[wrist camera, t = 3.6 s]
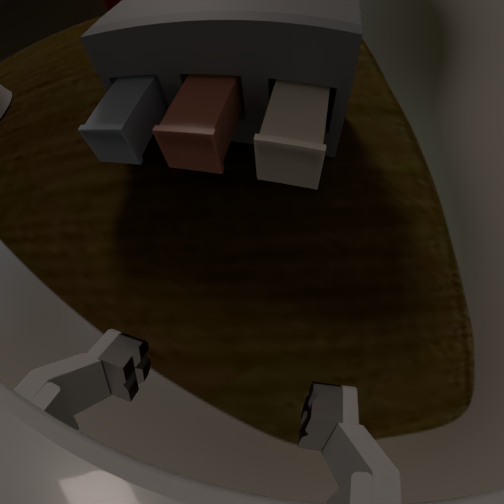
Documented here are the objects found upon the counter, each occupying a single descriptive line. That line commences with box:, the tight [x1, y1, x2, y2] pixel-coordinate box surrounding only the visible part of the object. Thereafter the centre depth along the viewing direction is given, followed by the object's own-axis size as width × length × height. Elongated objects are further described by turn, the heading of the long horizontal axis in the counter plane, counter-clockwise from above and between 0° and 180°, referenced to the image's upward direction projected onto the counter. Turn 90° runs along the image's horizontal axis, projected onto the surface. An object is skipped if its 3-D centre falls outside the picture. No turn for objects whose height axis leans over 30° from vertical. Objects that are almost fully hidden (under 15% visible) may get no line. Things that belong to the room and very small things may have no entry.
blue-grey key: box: [78, 75, 168, 165], centre depth 23 cm, size 8×4×4 cm, turn 167°
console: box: [80, 0, 362, 158], centre depth 23 cm, size 7×21×13 cm, turn 77°
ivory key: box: [254, 79, 330, 190], centre depth 21 cm, size 8×4×4 cm, turn 167°
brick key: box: [152, 74, 244, 174], centre depth 22 cm, size 8×4×4 cm, turn 167°
